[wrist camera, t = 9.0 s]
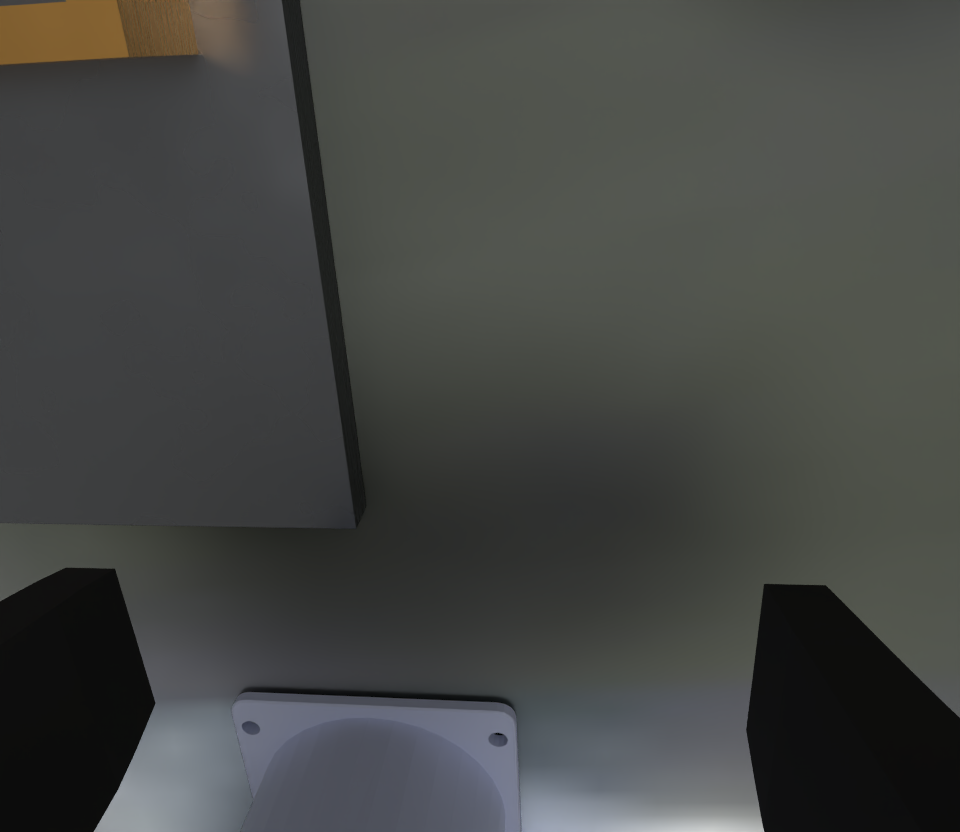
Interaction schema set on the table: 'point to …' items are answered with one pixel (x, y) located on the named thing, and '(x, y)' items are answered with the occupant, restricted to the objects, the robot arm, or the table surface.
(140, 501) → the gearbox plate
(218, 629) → the table surface
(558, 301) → the table surface
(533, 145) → the table surface
